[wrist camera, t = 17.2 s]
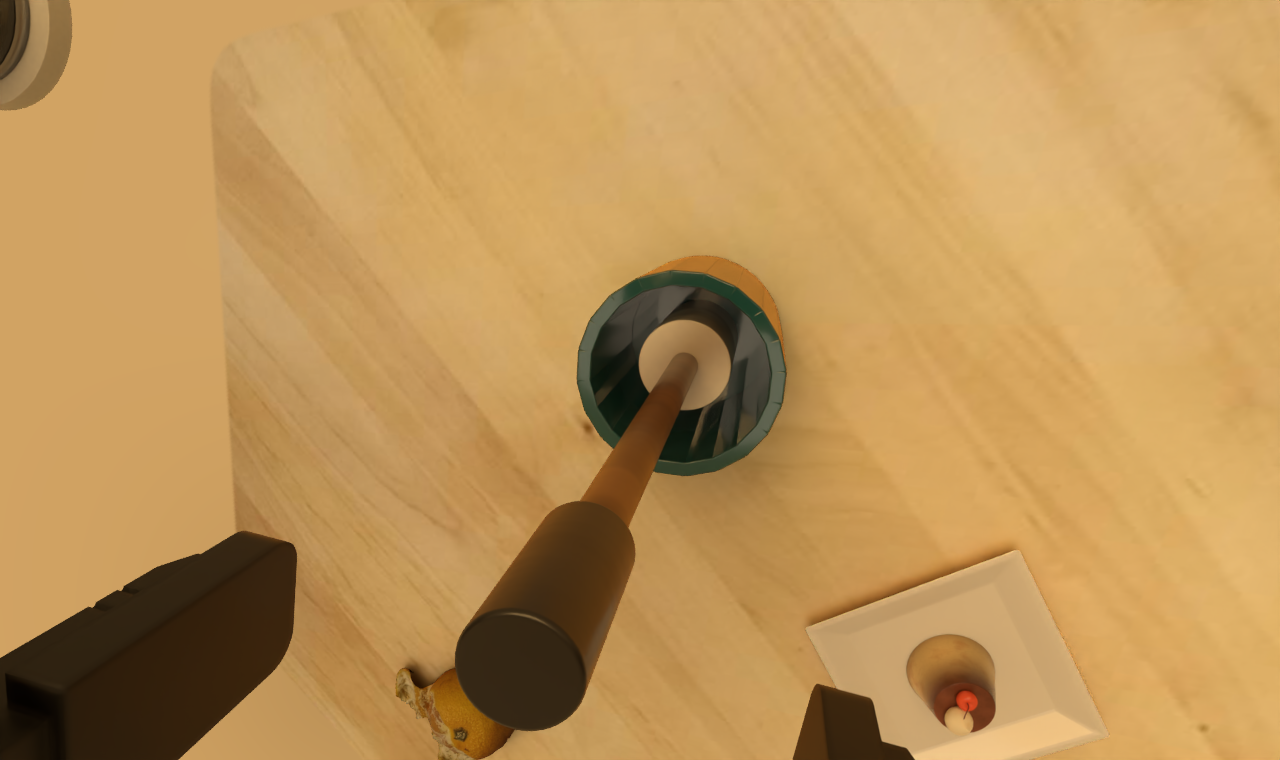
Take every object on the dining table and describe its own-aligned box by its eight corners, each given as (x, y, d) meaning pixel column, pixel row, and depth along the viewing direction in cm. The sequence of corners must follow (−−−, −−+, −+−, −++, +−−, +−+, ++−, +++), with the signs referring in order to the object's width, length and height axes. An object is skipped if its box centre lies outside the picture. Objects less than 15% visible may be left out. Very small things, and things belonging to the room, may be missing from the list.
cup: (593, 340, 39) (536, 382, 29) (693, 221, 36) (667, 225, 27) (708, 440, 39) (688, 514, 29) (814, 328, 36) (831, 370, 27)
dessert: (1012, 539, 37) (1046, 585, 33) (1101, 722, 39) (1145, 791, 34) (803, 617, 40) (807, 669, 36) (893, 784, 42) (908, 854, 37)
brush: (646, 340, 37) (340, 667, 11) (695, 284, 36) (492, 488, 9) (702, 390, 37) (540, 837, 11) (753, 334, 36) (715, 681, 10)
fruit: (385, 674, 47) (354, 712, 43) (482, 626, 44) (458, 661, 41) (454, 772, 47) (429, 817, 44) (552, 729, 45) (534, 773, 42)
